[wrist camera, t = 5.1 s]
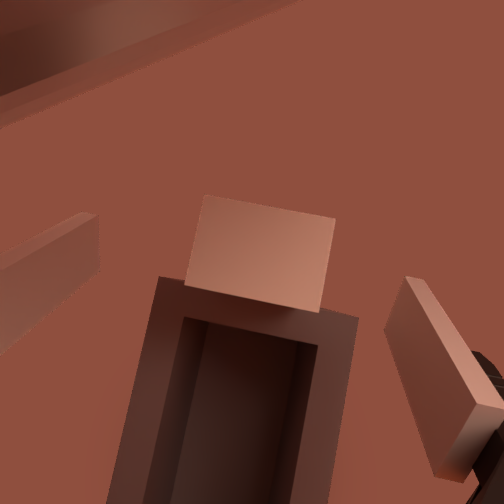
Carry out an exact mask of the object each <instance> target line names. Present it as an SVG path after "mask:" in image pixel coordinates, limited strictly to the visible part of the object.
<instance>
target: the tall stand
mask: <svg viewBox="0 0 504 504" xmlns="http://www.w3.org/2000/svg"><path fill="white" fill-rule="evenodd" d="M184 283H185V280H179V279H172V278H166V277H160V276H159V278H158V283H157V287H156V291H155V296H154V300H153V304H152V308H151V313H150V317H149V321H148V326H147V330H146V334H145V339H144V343H143V347H142V351H141V356H140V360H139V365H138V369H137V373H136V377H135V382H134V386H133V390H132V394H131V399H130V404H129V407H128V412H127V416H126V421H125V425H124V429H123V433H122V437H121V442H120V446H119V451H118V455H117V459H116V463H115V468H114V472H113V476H112V480H111V485H110V489H109V493H108V498H107V502H106V504H327V503H328V497H329V491H330V485H331V479H332V473H333V468H334V462H335V456H336V450H337V444H338V438H339V432H340V425H341V420H342V415H343V409H344V403H345V396H346V391H347V385H348V379H349V373H350V367H351V361H352V356H353V350H354V344H355V338H356V332H357V326H358V320H359V318H358V317H354V316H351V315H346V314H343V313H339V312H336V311H332V310H328V309H324V308H320V309H319V313H317V312H312V311H307V310H302V309H297V308H293V307H288V306H283V305H278V304H273V303H268V302H264V301H259V300H254V299H249V298H244V297H240V296H235V295H230V294H225V293H220V292H215V291H211V290H206V289H201V288H196V287H191V286H187V285H184Z"/></svg>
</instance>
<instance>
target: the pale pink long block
mask: <svg viewBox="0 0 504 504" xmlns="http://www.w3.org/2000/svg"><path fill="white" fill-rule="evenodd" d="M335 220H336V219H334V218H329V217H323V216H318V215H313V214H307V213H302V212H297V211H292V210H286V209H280V208H275V207H270V206H265V205H260V204H255V203H249V202H244V201H239V200H233V199H228V198H223V197H218V196H212V195H207V194H205V195H204V199H203V204H202V208H201V212H200V216H199V221H198V225H197V230H196V235H195V239H194V243H193V248H192V252H191V257H190V261H189V265H188V270H187V274H186V279H185V283H184V285H187V286H191V287H196V288H201V289H206V290H211V291H215V292H220V293H225V294H230V295H235V296H240V297H244V298H249V299H254V300H259V301H264V302H268V303H273V304H278V305H283V306H288V307H293V308H297V309H302V310H307V311H312V312H317V313H319V309H320V303H321V297H322V292H323V287H324V281H325V275H326V270H327V264H328V259H329V254H330V248H331V243H332V237H333V232H334V226H335Z"/></svg>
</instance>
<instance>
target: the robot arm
mask: <svg viewBox="0 0 504 504" xmlns="http://www.w3.org/2000/svg"><path fill="white" fill-rule="evenodd" d="M300 1H302V0H0V129H1V128H3V127H6V126H8V125H11V124H13V123H16V122H18V121H20V120H23V119H25V118H27V117H30V116H32V115H34V114H37V113H39V112H41V111H44V110H46V109H48V108H51V107H53V106H55V105H58V104H60V103H63V102H65V101H67V100H70V99H72V98H74V97H77V96H79V95H81V94H84V93H86V92H88V91H91V90H93V89H95V88H98V87H100V86H102V85H105V84H107V83H110V82H112V81H114V80H117V79H119V78H121V77H124V76H126V75H128V74H131V73H133V72H135V71H138V70H140V69H142V68H145V67H147V66H150V65H152V64H154V63H156V62H159V61H161V60H164V59H166V58H168V57H171V56H173V55H175V54H178V53H180V52H182V51H185V50H187V49H189V48H192V47H194V46H197V45H199V44H201V43H204V42H206V41H208V40H210V39H213V38H215V37H218V36H220V35H222V34H225V33H227V32H229V31H232V30H234V29H236V28H239V27H241V26H244V25H246V24H248V23H251V22H253V21H255V20H258V19H260V18H262V17H265V16H267V15H269V14H272V13H274V12H276V11H279V10H281V9H283V8H286V7H288V6H291V5H293V4H295V3H298V2H300ZM98 272H100V256H99V221H98V215H95V214H90V213H85V212H80V213H78V214H76V215H74V216H72V217H70V218H68V219H66V220H64V221H63V222H61V223H59V224H57V225H55V226H53V227H51V228H49V229H47V230H45V231H43V232H41V233H39V234H37V235H35V236H34V237H31V238H29V239H27V240H25V241H24V242H22V243H20V244H18V245H16V246H14V247H12V248H10V249H8V250H6V251H4V252H2V253H0V356H1V355H2V354H3V353H4V352H6V351H7V350H8V349H9V348H10V347H11V346H13V345H14V344H15V343H16V342H17V341H18V340H20V339H21V338H22V337H23V336H24V335H25V334H27V333H28V332H29V331H30V330H31V329H33V328H34V327H35V326H36V325H37V324H38V323H40V322H41V321H42V320H43V319H44V318H46V317H47V316H48V315H49V314H50V313H51V312H53V311H54V310H55V309H56V308H57V307H58V306H60V305H61V304H62V303H63V302H64V301H65V300H67V299H68V298H69V297H70V296H71V295H73V294H74V293H75V292H76V291H77V290H78V289H80V288H81V287H82V286H83V285H84V284H85V283H87V282H88V281H89V280H90V279H91V278H93V277H94V276H95V275H96V274H97V273H98ZM384 332H385V335H386V338H387V341H388V344H389V347H390V350H391V353H392V355H393V358H394V361H395V364H396V367H397V370H398V373H399V376H400V379H401V382H402V384H403V387H404V390H405V393H406V396H407V399H408V402H409V405H410V407H411V411H412V413H413V416H414V419H415V422H416V425H417V428H418V431H419V434H420V437H421V440H422V442H423V445H424V448H425V451H426V454H427V457H428V459H429V463H430V466H431V468H432V471H433V474H434V477H438V478H442V479H446V480H451V481H455V482H460V483H464V481H465V479H466V478H467V476H468V475H469V473H470V472H471V470H472V469H473V470H474V472H475V475H476V477H477V479H478V481H479V485H478V486H477V488H476V489H475V491H474V493H473V494H472V496H471V497H470V498H469V500H468V501H467V503H466V504H504V379H502V376H501V375H500V373H499V371H498V370H497V369H496V367H495V366H494V365H493V364H492V363H491V362H490V361H489V360H488V359H487V358H485V357H484V356H483V355H482V354H481V353H480V352H475V351H471V350H470V349H469V348H468V346H467V345H466V343H465V342H464V340H463V339H462V337H461V336H460V334H459V333H458V331H457V330H456V328H455V327H454V325H453V324H452V322H451V321H450V319H449V318H448V316H447V315H446V313H445V312H444V310H443V308H442V307H441V306H440V304H439V303H438V301H437V299H436V298H435V296H434V295H433V293H432V292H431V290H430V289H429V287H428V286H427V284H426V283H425V281H424V280H423V279H417V278H413V277H408V276H404V279H403V281H402V284H401V287H400V289H399V292H398V294H397V297H396V300H395V302H394V305H393V307H392V310H391V313H390V315H389V318H388V321H387V323H386V326H385V328H384Z"/></svg>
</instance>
